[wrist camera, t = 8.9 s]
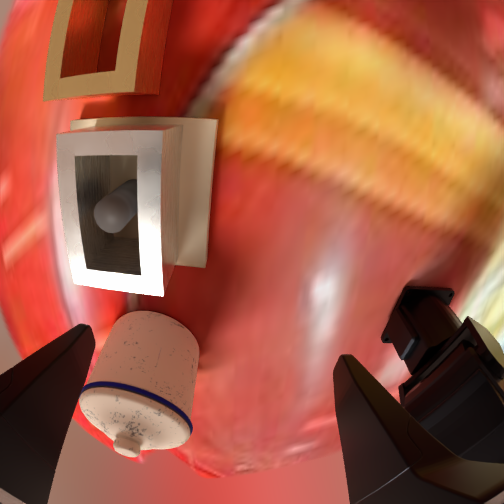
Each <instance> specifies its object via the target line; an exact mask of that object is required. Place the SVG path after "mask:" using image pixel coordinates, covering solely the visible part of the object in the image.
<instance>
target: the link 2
mask: <svg viewBox="0 0 504 504" xmlns="http://www.w3.org/2000/svg"><path fill="white" fill-rule="evenodd" d="M182 134H183V125H178V124H116V125H95V126H90V127H85V128H81V129H76V130H72V131H68V132H64V133H60V134H56V138H57V169H58V184H59V195H60V205H61V213H62V221H63V228H64V234H65V241H66V246H67V252H68V257H69V262H70V267H71V272H72V277H73V281H74V284H80V285H86V286H92V287H99V288H105V289H112V290H119V291H126V292H134V293H141V294H149V295H157V296H164V293H165V291H166V288H167V285H168V283H169V280H170V278H171V275H172V272H173V270H174V267H175V265H176V262H177V260H178V222H179V186H180V165H181V148H182ZM110 155H138V156H137V201H138V229H139V239H136V238H125V237H114V233H108V232H106V231H104V230H102V229H101V228H100V227H99V226H98V224H97V223H96V220H95V217H94V209H95V206H96V204H97V203H98V202H99V201H100V200H102V199H103V198H104V197H106V196H107V195H108V194H110V193H111V177H110Z"/></svg>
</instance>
